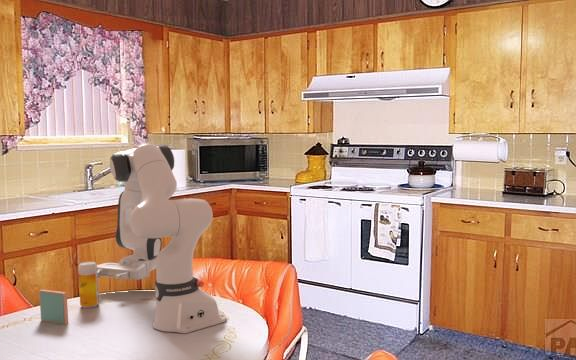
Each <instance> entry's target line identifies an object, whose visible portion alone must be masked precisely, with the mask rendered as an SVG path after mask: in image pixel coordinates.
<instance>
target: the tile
mask: <svg viewBox="0 0 576 360" xmlns="http://www.w3.org/2000/svg"><path fill="white" fill-rule="evenodd" d="M38 293H39V309H40V321H42V322H48V323H53V324H54V323H55V324H60V325H67V324H69V313H68V312H69V311H68V294H67V292H64V291H58V290H48V289H39V291H38Z"/></svg>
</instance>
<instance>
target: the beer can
mask: <svg viewBox="0 0 576 360" xmlns="http://www.w3.org/2000/svg"><path fill="white" fill-rule="evenodd" d="M97 265H98V264H96V262H95V261H83V262H80V263H79V264H78V268H77V271H78V288H79V289H78V290H79V306H81V307H82V308H83V309H92V308H96V307H97V306H98V305H99V304H100V298H99V297H100V295H99V278H98V275H97Z"/></svg>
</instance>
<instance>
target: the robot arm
mask: <svg viewBox="0 0 576 360" xmlns="http://www.w3.org/2000/svg"><path fill="white" fill-rule="evenodd" d="M109 158H110V159H109V170H110V173H111V176H112V177H113V178H114V180H115V181H117V182H119V183H121V182H123V183H124V184H123V185H124V190H123V191H122V192H121V193H120V194H119V197H118V200H117V201H118V203H117V221H116V222H117V224H116V225H117V226H116V231H115V241H116V244H117V245H118V246H119V248H123V249H126V250H127V249H128V250H131V251H134V253H132V254H129V255H127V256H125V257H122V258H120V260H119V262H105V263H101V264H96V265H97V275H98V279H99V278H101V277H104V278H115V280H117V281H121V280H124V279H125V280H134V281H135V280H136V281H139V280H142V279H147V278H150V272H151V271H153V270H155V273H156V275H155V276H156V279H155V281H154V283H155V284H154V285H155V286H154V295H155V299H156V304H155V305H156V306H155V312H154V313H155V314H154V319H153V323H152V326H153V328H154V329H155V330H158V331H162V332H169V333H171V332H172V333H173V332H174V333H179V334H189V333H191V332H195V331H198V330H202V329H204V328H208V327H212V326H215V325H219V324H222V323H225V322H226V320H227V317H226V314H225V313H224V312H223V311H222V310H221V309H219V306H218V303H217V301H216V299H215V298H214V297H213V296H212V295H210V294H209V293H207V292H205V291H204V290H202V289H201V288H203V287H204V286H205V285H204V284H205V282H204V281H203V280H202V279H199V278H196V277H194V274H193V269H194V268H193V267H194V266H193V265H194V263H193V262H194V254H195V253H194V252H195V248H196V246H197V244H198V241H199V239H200V238H201V236H202V235H203V234H204V232H205V231H206V230H207V229H209V227H210V226H211V224H212V222H213V217H214V216H213V214H214V213H213V210H212V209H213V208H212V206H211V205H210V204H209V202H208V201H207V200H205V199H199V198H192V197H190V198H180V199H178V198H177V199H170V198H171V197H172V196H173V195H174V194H175V192H176V190H177V186H178V185H177V180H176V178H175V175H174V173H173V170H174V167H175V156H174V153H173V151H172V149H171V148H170V147H169V146H168V145H165V144H158V145H155V144H153V143H144V144H141V145H138V146H137V147H134V148H131V149H127V150H124V151H121V150H120V151H118V152H115V153H113V154H112V155H111V156H110V157H109ZM167 237H171V240H170V241H169V243H168V244H167V245H166V246H165V247H164V248H162V246H163V245H162V243H163V242H162V238H167Z"/></svg>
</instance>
